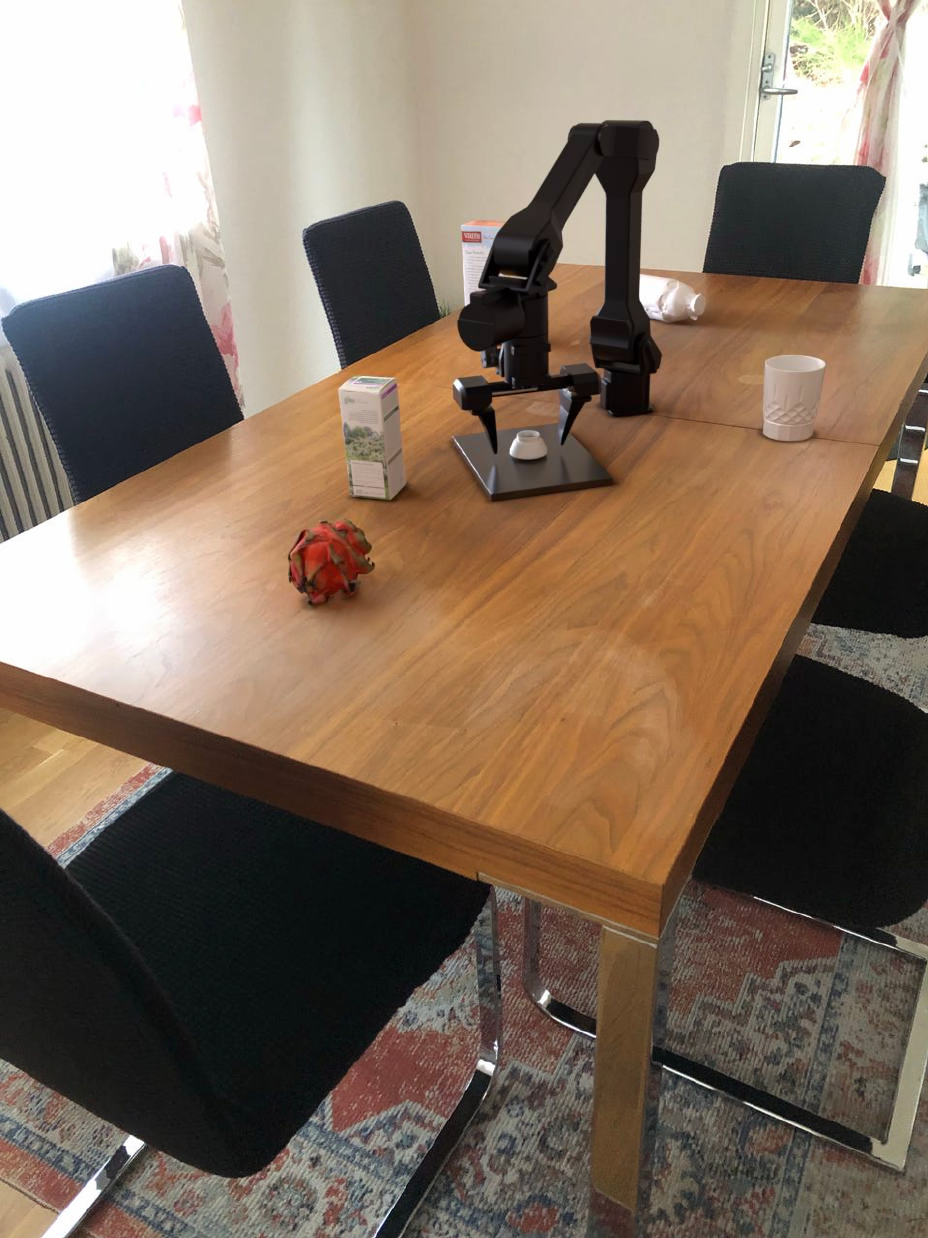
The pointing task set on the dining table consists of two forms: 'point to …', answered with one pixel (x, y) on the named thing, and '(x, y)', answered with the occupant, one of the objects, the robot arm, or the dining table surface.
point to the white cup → (791, 396)
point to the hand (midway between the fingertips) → (528, 448)
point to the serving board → (530, 464)
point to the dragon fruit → (329, 560)
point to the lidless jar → (528, 446)
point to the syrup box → (372, 436)
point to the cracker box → (477, 252)
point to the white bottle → (669, 299)
